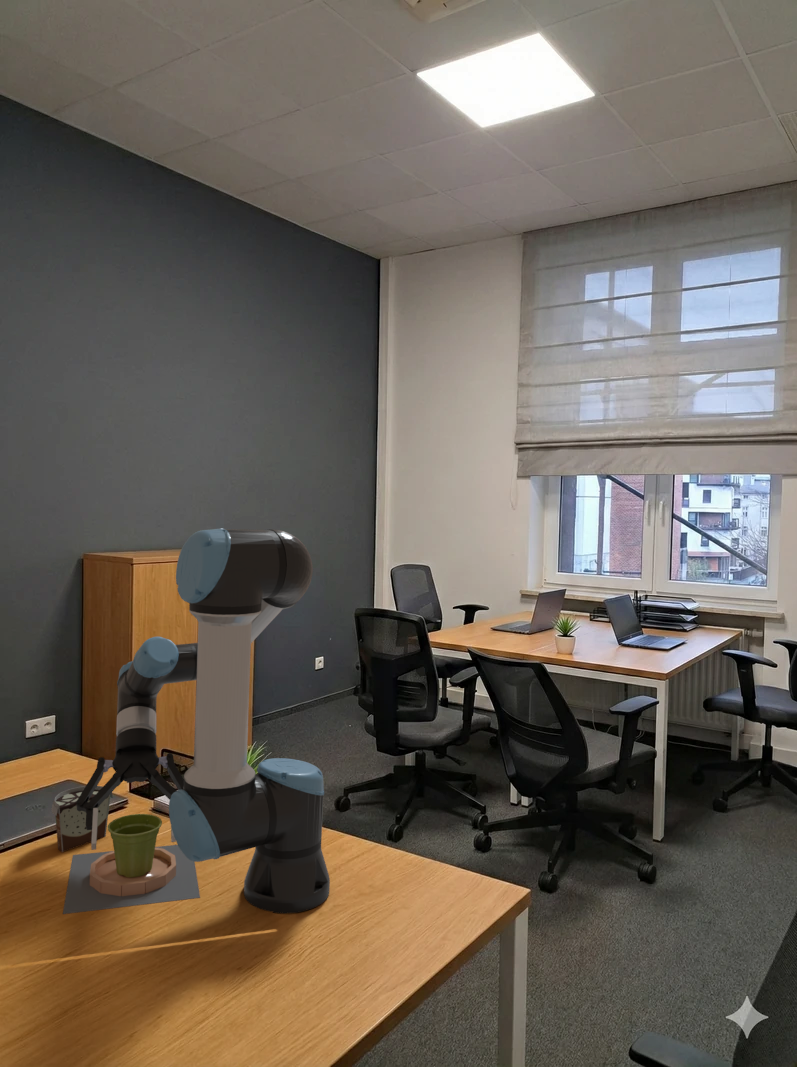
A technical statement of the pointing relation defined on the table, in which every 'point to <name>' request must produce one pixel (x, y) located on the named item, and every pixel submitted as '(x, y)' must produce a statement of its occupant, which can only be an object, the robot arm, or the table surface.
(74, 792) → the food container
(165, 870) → the saucer
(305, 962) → the table surface
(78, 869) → the desk mat
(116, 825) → the plant pot
